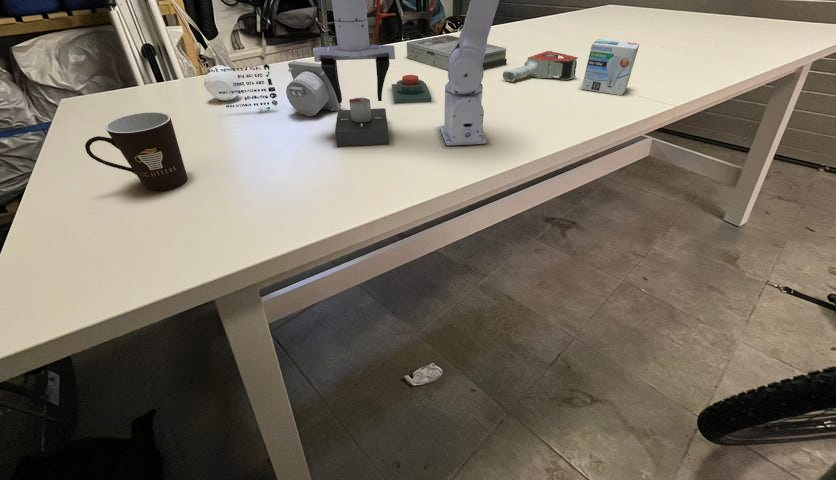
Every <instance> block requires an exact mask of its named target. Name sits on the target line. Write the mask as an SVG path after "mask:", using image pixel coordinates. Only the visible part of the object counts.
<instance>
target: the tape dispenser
mask: <svg viewBox="0 0 836 480" xmlns="http://www.w3.org/2000/svg"><path fill="white" fill-rule="evenodd" d="M561 57H562V58H561ZM577 59H579V57H577V56H574V55H569V54H565V53H560V52H556V51H553V50H545V51H543V52H541V53H537V54H534V55H531V56H528V57H527V60H525V62H524V65H523V66H520V67H516V68H513V69H509V70H508V69H506V70H504V71H503V72H502V79H503V80H504V81H507V82H511V83H513V82H515V81H516V80H518V79H522V78H524V77H526V76H529V77H533V78H535V79H536V78H538V79H553V78H554V77H559V78H558V79H559V81H568V80H571V79H575V78H576V77H577V76H576V69H577V66H578V65H577V63H578V61H577Z"/></svg>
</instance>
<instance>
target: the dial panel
mask: <svg viewBox="0 0 836 480" xmlns="http://www.w3.org/2000/svg"><path fill="white" fill-rule="evenodd" d="M371 117H372V119H371V120H370V121H367V122H354V121H352V118H351V110H350V109H340V110H338V111H337V115H336V120H335V121H336V122H335V127H334V128H335V129H334V133H335V134H334V135H335V141H336V147H337V148H339V147H341V148H342V147H361V146H382V145H390V139H389V127H388V119H387V111H386V108H385V107H383V108H371Z"/></svg>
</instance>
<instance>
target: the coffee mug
mask: <svg viewBox="0 0 836 480" xmlns="http://www.w3.org/2000/svg"><path fill="white" fill-rule="evenodd" d="M105 130H106V132H107V134H108V135H109V136H110V137H108V136H102V135H101V136H99V135H98V136H93V137H91V138H88V140H87V141H86V142H85V144H84V148H85V151H86V154H87V155H88V156H89V157H90V158H92V160H95V161H96V162H98V163H101V164H103V165H106V166H107V167H112V168H116V169H119V170H122V171H126V172H130V173H132V174H134V175H135V176H137V178H138V180H139V181H140V182H141V184H142V186H143V187H144V188H145V190H147V191H149V192H154V193H156V192H157V193H158V192H159V193H160V192H168V191H171V190H175V189H177V188H179V187H181V186H183V185H184V184H186V183H187V181H188V178H189V177H188V174H187V171H186V168H185V163H184V160H183V157H182V153H181V150H180V146H179V142H178V138H177V135H176V131H175V127H174V124H173V121H172V117H171V115H169V114H168V113H166V112H159V111H148V112H137V113H132V114H128V115H124V116H121V117H117V118H115V119H113V120H111V121H109V122H108V123H107V124H105ZM98 141H99V142H105V143H108V144H111V145H112V147H114V148H116V149H118V150H119V151H120V153H121V154H122V156H123V157H124V159H125V160H126V162H127V163H128V165H129V166H130V167H129V166H125V165H122V164H118V163H114V162H111V161H107V160H105V159H102V158H100V157H98V156H97V155H95V154H94V153H93V152H92V150H91V145H92V144H93V143H96V142H98Z"/></svg>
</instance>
